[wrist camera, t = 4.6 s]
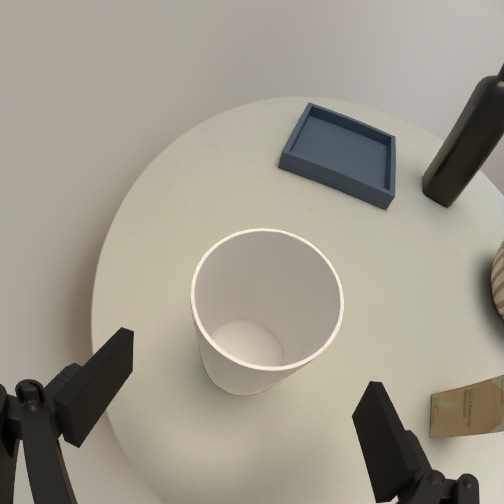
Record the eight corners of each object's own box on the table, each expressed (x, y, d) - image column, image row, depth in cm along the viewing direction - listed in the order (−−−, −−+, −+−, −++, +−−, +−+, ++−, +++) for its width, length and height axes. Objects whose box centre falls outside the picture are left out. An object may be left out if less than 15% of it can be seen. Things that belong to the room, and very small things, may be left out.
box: (430, 393, 25) (507, 368, 15) (457, 391, 25) (530, 365, 15) (428, 440, 22) (507, 431, 13) (456, 435, 22) (532, 421, 13)
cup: (242, 412, 23) (270, 406, 11) (186, 352, 25) (157, 284, 13) (300, 357, 26) (371, 296, 14) (245, 303, 28) (268, 205, 16)
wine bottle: (448, 188, 43) (532, 51, 17) (450, 210, 40) (548, 62, 14) (422, 173, 43) (501, 26, 18) (422, 194, 40) (515, 33, 15)
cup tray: (278, 167, 39) (282, 151, 36) (305, 115, 47) (308, 102, 45) (385, 210, 37) (394, 196, 35) (389, 148, 45) (395, 136, 43)
